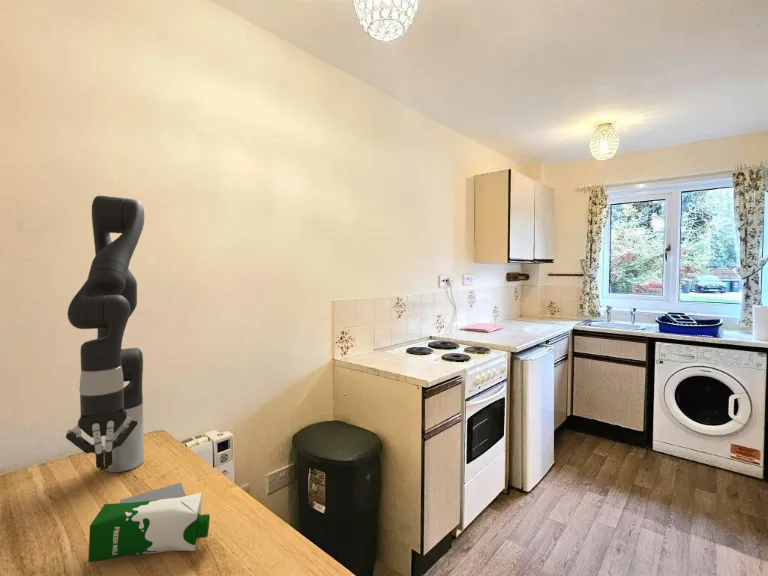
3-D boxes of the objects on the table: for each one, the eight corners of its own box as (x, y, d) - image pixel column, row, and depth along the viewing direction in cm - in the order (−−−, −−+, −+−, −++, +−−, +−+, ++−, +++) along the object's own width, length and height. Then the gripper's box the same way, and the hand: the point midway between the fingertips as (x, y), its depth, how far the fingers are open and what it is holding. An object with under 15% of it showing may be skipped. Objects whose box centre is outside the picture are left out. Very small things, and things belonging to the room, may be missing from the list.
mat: (120, 502, 93) (120, 499, 93) (180, 484, 101) (180, 482, 101) (125, 550, 77) (125, 547, 77) (196, 525, 85) (196, 522, 85)
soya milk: (87, 523, 70) (207, 510, 76) (106, 496, 79) (213, 486, 85) (85, 571, 71) (205, 554, 77) (104, 539, 79) (211, 526, 85)
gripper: (137, 379, 90) (138, 453, 91) (63, 389, 82) (65, 470, 83) (140, 387, 84) (142, 466, 85) (60, 399, 76) (63, 485, 77)
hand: (104, 468), depth 84 cm, fingers closed
